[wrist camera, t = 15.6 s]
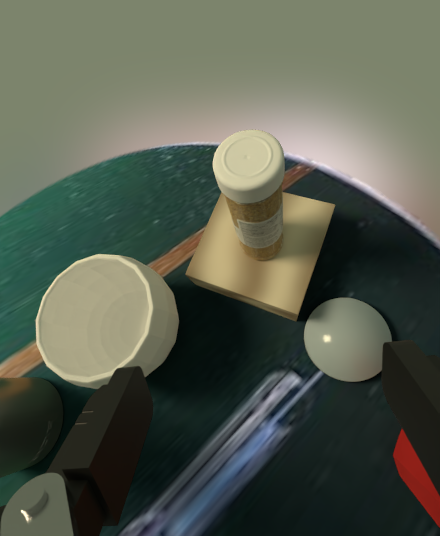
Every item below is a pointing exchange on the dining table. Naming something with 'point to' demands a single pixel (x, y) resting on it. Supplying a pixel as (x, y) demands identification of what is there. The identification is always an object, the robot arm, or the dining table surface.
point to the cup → (106, 320)
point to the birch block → (263, 271)
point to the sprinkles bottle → (253, 190)
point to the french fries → (416, 477)
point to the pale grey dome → (346, 339)
